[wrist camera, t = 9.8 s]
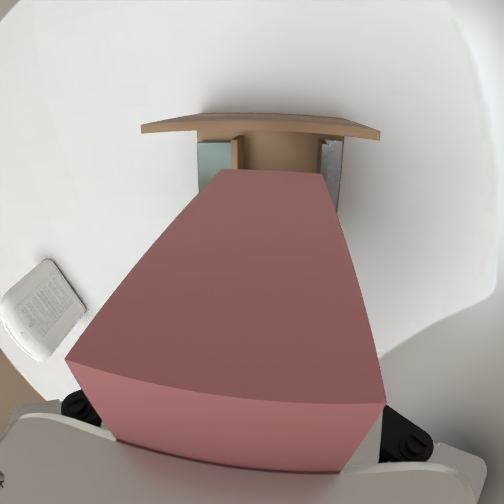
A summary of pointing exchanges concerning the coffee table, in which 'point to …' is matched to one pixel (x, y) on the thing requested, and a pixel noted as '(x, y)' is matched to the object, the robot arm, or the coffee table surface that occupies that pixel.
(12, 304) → the photo printer
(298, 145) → the shelf
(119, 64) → the coffee table surface
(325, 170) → the bookend
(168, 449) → the book
